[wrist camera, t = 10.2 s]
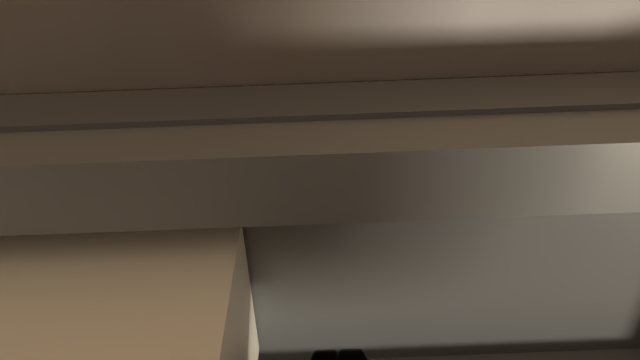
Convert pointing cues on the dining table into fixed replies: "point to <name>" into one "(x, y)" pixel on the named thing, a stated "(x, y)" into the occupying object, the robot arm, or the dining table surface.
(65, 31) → the dining table surface
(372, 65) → the dining table surface
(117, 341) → the tab
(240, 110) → the gray shelf unit
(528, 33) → the dining table surface
